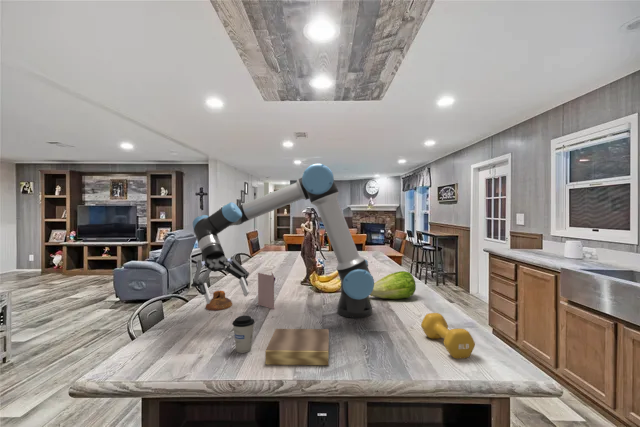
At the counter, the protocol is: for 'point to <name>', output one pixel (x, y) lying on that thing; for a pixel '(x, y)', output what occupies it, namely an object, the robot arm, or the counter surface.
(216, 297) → the brown round patterned piece
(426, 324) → the dumbbell
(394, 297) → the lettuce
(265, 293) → the greeting card
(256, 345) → the counter surface
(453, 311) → the counter surface
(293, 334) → the brown flat square block
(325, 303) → the counter surface
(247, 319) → the coffee cup
